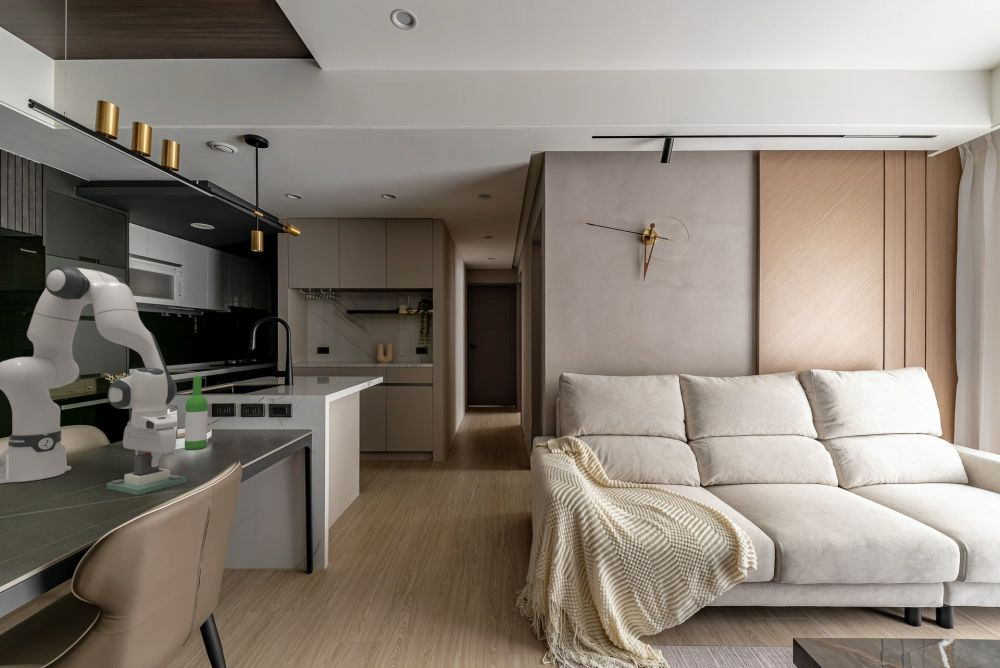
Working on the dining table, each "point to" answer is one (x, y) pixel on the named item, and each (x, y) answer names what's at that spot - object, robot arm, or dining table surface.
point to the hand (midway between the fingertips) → (147, 465)
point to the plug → (144, 464)
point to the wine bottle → (196, 418)
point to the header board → (146, 482)
